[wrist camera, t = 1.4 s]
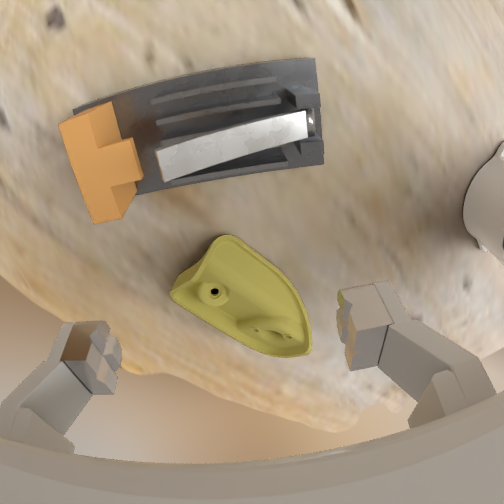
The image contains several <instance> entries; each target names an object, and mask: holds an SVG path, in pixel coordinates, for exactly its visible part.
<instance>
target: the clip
mask: <svg viewBox="0 0 504 504" xmlns="http://www.w3.org/2000/svg"><path fill="white" fill-rule="evenodd" d="M58 125H59V128H60V132H61V135H62V138H63V141H64V145H65V148H66V151H67V154H68V157H69V160H70V163H71V165H72V168H73V171H74V174H75V177H76V180H77V182H78V185H79V188H80V190H81V193H82V196H83V198H84V201H85V203H86V206H87V208H88V211H89V213H90V216H91V218H92V221H93V223H94V224H98V223H103V222H108V221H112V220H117V219H122V217H123V215H124V213H125V212H126V210H127V208H128V206H129V204H130V203H131V201H132V199H133V197H134V196H135V194H136V192H137V188H136V185H135V182H134V181H138V180H142V178H143V176H144V175H143V172H142V169H141V165H140V162H139V158H138V155H137V151H136V148H135V144H134V140H133V137H131V138H128V139H124V140H122V138H121V135H120V131H119V127H118V124H117V120H116V116H115V112H114V109H113V105H112V101H110V102H107V103H104V104H101V105H98V106H95V107H92V108H89V109H87V110H84V111H82V112H80V113H79V114H77V115H75V116H73V117H71V118H69V119H67V120H66V121H64V122H62V123H60V124H58Z"/></svg>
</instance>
